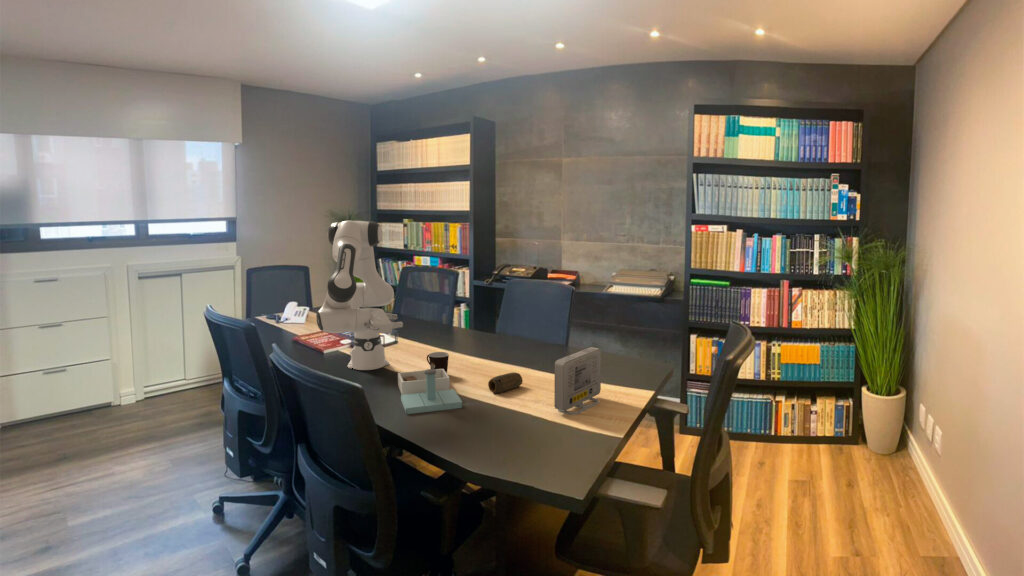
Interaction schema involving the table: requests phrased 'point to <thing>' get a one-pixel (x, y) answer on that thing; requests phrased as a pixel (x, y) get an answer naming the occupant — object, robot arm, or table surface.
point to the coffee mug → (438, 360)
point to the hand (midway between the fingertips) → (399, 320)
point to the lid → (431, 398)
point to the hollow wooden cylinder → (505, 382)
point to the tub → (422, 382)
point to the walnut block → (410, 378)
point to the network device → (577, 380)
